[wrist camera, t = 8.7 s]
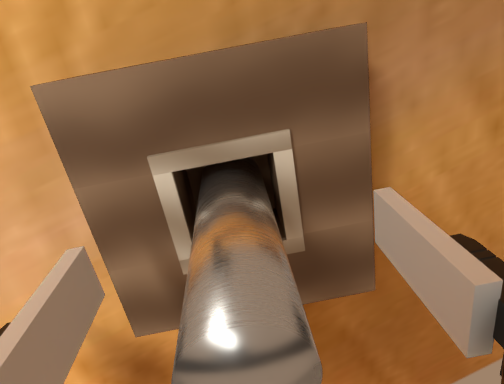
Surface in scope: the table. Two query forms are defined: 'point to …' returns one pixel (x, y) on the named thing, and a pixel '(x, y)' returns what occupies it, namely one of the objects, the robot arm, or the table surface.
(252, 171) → the pin
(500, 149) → the table surface
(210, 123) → the bore block
